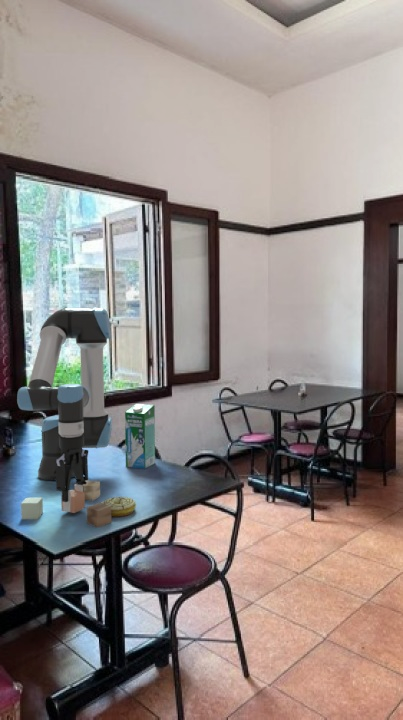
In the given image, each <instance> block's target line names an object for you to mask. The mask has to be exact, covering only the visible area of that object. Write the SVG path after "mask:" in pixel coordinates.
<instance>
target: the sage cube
mask: <svg viewBox="0 0 403 720" xmlns="http://www.w3.org/2000/svg"><path fill="white" fill-rule="evenodd" d="M43 501H44V500H43V497H25V499H24V500H22V502H21V503H20V512H21V514H20V516H21V517H20V519H21V520H39V518H40V517H41V516H42V515H43V514H44V503H43ZM41 514H42V515H41Z"/></svg>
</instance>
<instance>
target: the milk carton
mask: <svg viewBox="0 0 403 720" xmlns="http://www.w3.org/2000/svg"><path fill="white" fill-rule="evenodd" d="M155 408H156V406H155V404H148V403H147V404H145V403H135V404H134V405H132V406H131V407H130V408H128V409H127V410H126V411H125V412H124V425H125V426H124V427H125V429H124V430H125V432H124V436H125V441H124V443H125V467H127V468H133V469H134V468H135V469H143V470H145V469H147V468H149V467H151V466H153V465H154V464H156V434H155V433H156V432H155V431H156V430H155V429H156V426H155V421H156V419H155V414H156V413H155V411H156V410H155Z"/></svg>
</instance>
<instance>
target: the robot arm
mask: <svg viewBox="0 0 403 720" xmlns="http://www.w3.org/2000/svg"><path fill="white" fill-rule="evenodd" d="M111 330H112V328H111V321H110V317H109V314H108V310H106V309H105V308H101V307H65V308H60V309H58V310H56V311H55V312H53V313H52V314H51V315H50V316H49V317H48V318H47V319H46V320H45V321H44V322H43V324H42V326H41V328H40V331H39V339H40V342H39V345H38V346H39V347H38V349H37V352H36V356H35V360H34V364H33V367H32V370H31V375H30V379H29V381H28V385H27V386H22V387H19V388H18V391H17V395H16V396H17V397H16V398H17V399H16V401H17V405H18V408H19V409H20V410H22V411H32V412H34V411H58V413H57V414H55V415H52V416H48V417H45V418H44V419H43V420H42V421H41V430H40V431H41V447H42V448H41V449H42V450H41V452H42V456H41V460H40V463H39V468H38V469H37V477H38V478H39V479H41V480H44V481H55V483H56V485H55V487H56V488H55V489H56V491H58V492H61V495H62V502H63V511H62V512H66V511H67V513H71V511H72V505H71V489H70V486H71V479H72V478H74V477H75V478H74V479H75V484H74V490H75V491H81V492H84V486H83V484H84V485H86V483H87V482H85V481H89V469H88V468H89V467H88V465H89V464H88V456H89V449H100V448H101V449H103V448H107V447H108V446H109V445H110V441H111V437H112V432H113V431H112V430H113V418H112V417H110V416H109V412H108V411H107V410H106V409H105V393H104V392H105V388H104V386H105V384H104V383H105V382H104V347H105V346H106V345H107V344H108V340H109V339H110V338H111V337H112V331H111ZM68 339H71V340H73V339H75V344H76V345H77V346H78V347H79V351H80V352H79V353H80V354H79V355H80V356H79V357H80V384H79V383H66V384H61V385H59V386H53V384H54V379H55V377H56V376H55V375H56V371H57V366H58V363H59V358H60V354H61V350H62V345H63V344H65V342H66V341H67V340H68Z"/></svg>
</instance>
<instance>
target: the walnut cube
mask: <svg viewBox="0 0 403 720" xmlns="http://www.w3.org/2000/svg"><path fill="white" fill-rule="evenodd" d="M86 519H87V520H86V523H87V524H89V525H90V526H93V527H95V528H101V527H103V526H106V525H108V524H110V523H112V516H111V506H109V505H106V504H103V503H102V501H101V502H97V503H95V504H91V505H89V506H87V507H86Z"/></svg>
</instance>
